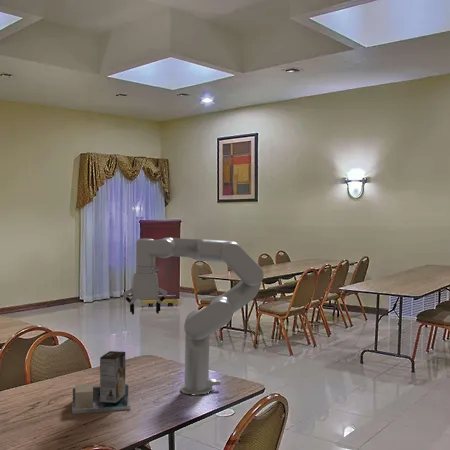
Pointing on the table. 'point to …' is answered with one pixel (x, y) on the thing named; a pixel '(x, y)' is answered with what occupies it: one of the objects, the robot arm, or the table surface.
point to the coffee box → (112, 376)
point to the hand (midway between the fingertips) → (145, 313)
